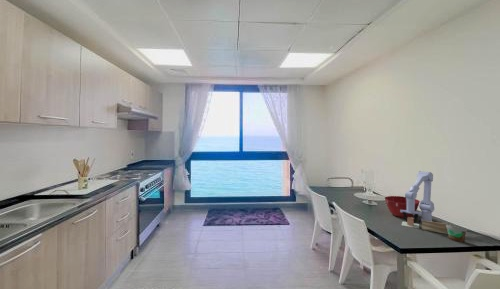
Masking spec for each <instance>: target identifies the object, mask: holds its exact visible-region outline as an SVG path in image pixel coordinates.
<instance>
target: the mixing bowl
mask: <svg viewBox="0 0 500 289" xmlns="http://www.w3.org/2000/svg"><path fill="white" fill-rule="evenodd" d="M384 199H385V200H384V201H385V204H386V206H387V209H388V212H390V213H391V214H392V215H393V216H395V217H397V218H404V219H405V217H404V215H403V212H402V213H401V212H400V210H407V200H406V197H405V196H400V195H389V196H385V197H384ZM420 201H421V200H419V199H417V198H416V199H415V211H416V212H417V210H418V208H419V204H420ZM414 215H415V214H410V213H407V217H411V218H412V216H414Z"/></svg>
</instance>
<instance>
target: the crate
mask: <svg viewBox="0 0 500 289" xmlns="http://www.w3.org/2000/svg"><path fill="white" fill-rule="evenodd" d="M446 225H447V223H443V222H439V221H438V222H437V221H436V222H435V221H432V222H431V221H425V220H422V222H421V230H423V231H430V232H435V233H439V234H447V235H448V230H447V227H446ZM449 225H451V224H450V223H449Z"/></svg>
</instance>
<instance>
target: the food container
mask: <svg viewBox="0 0 500 289" xmlns="http://www.w3.org/2000/svg"><path fill="white" fill-rule="evenodd" d="M446 224H447V225H446V227H447V230H448V234H447V237H448V239H449V240H450V241H454V242H457V243H465V240H466V234H467V232H468V229H467V228H466V227H465V228H464V227H460V226H458V225H452V224H450V223H449V222H447V223H446ZM449 224H450V225H449Z"/></svg>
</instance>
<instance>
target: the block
mask: <svg viewBox="0 0 500 289" xmlns="http://www.w3.org/2000/svg"><path fill="white" fill-rule="evenodd" d="M407 225H411V226H414V217H412V216H411V217H407Z"/></svg>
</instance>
